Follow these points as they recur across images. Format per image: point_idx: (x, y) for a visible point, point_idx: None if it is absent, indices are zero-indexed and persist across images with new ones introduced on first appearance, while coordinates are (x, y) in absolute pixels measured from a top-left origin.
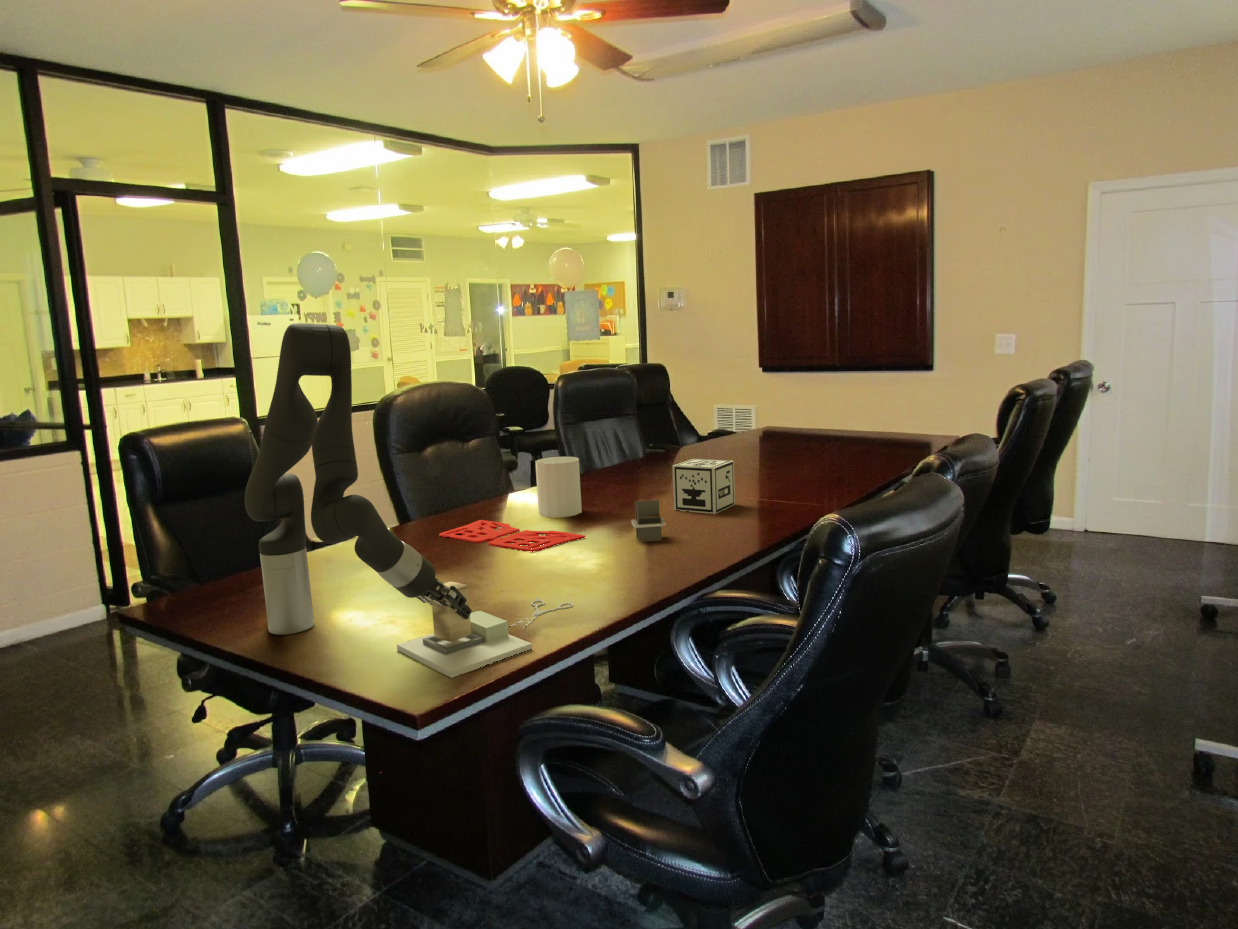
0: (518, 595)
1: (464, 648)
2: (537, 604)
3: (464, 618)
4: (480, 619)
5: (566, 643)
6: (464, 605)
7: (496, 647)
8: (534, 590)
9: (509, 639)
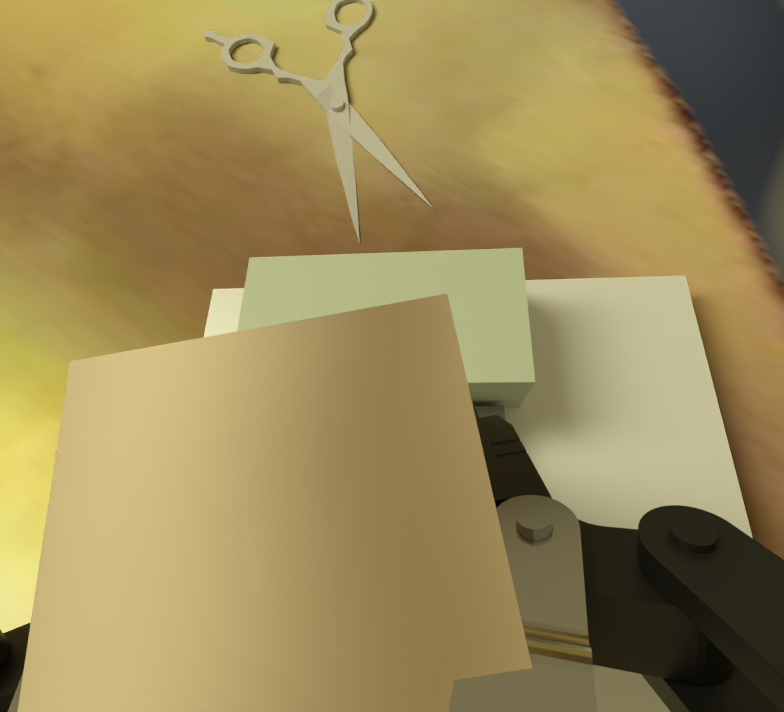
0: (125, 57)
1: None
2: (260, 58)
3: None
4: None
5: (697, 171)
6: (545, 489)
7: (619, 414)
8: (140, 11)
9: (558, 313)
